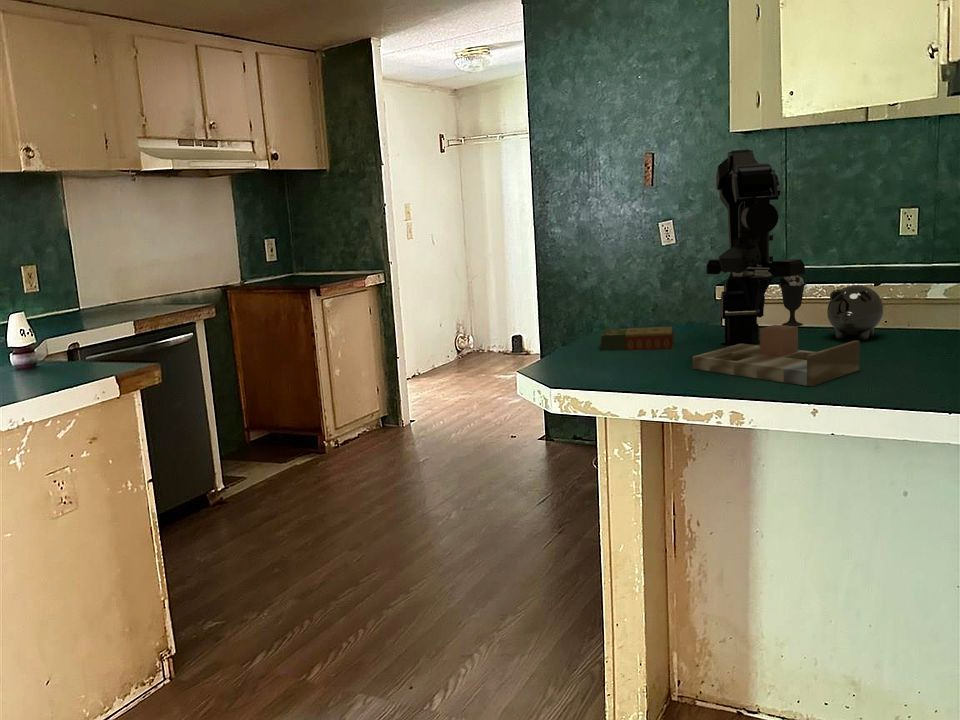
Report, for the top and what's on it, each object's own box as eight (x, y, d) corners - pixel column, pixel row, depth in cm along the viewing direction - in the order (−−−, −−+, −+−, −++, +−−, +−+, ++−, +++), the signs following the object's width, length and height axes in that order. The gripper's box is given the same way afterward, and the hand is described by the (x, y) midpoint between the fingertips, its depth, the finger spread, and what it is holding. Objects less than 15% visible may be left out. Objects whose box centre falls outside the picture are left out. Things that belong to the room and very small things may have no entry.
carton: (672, 350, 185) (672, 332, 184) (600, 352, 189) (600, 334, 188) (673, 343, 192) (673, 325, 192) (604, 345, 196) (603, 327, 196)
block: (760, 353, 161) (760, 328, 160) (774, 349, 164) (774, 324, 163) (783, 356, 158) (783, 330, 157) (797, 352, 160) (797, 326, 159)
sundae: (807, 322, 205) (808, 262, 202) (805, 327, 199) (806, 265, 196) (779, 322, 208) (779, 263, 205) (776, 327, 202) (776, 265, 199)
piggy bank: (819, 342, 180) (820, 290, 178) (834, 330, 192) (835, 281, 190) (875, 344, 174) (876, 290, 172) (887, 332, 186) (888, 281, 184)
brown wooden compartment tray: (692, 368, 164) (692, 341, 163) (741, 355, 173) (740, 329, 172) (812, 386, 144) (812, 355, 143) (859, 369, 153) (859, 340, 152)
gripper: (688, 234, 163) (689, 313, 166) (772, 234, 148) (772, 319, 151) (722, 230, 170) (723, 305, 173) (806, 229, 155) (806, 311, 158)
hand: (753, 310), depth 164 cm, fingers closed
